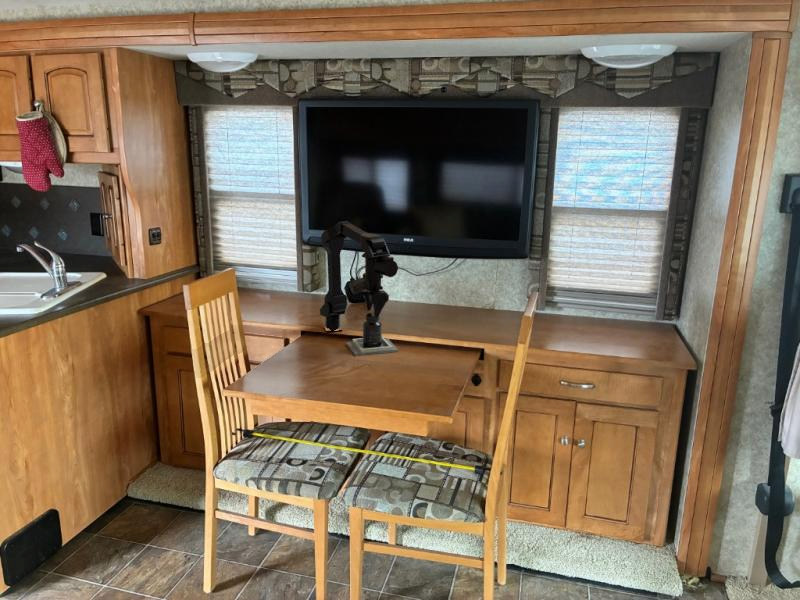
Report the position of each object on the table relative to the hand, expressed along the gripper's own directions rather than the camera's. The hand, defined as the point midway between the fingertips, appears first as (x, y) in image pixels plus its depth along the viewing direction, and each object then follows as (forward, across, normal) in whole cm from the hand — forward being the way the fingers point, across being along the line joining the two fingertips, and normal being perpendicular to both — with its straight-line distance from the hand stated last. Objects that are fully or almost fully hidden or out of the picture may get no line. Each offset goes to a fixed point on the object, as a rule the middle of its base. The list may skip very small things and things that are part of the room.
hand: (372, 314), depth 218 cm
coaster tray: (+13, 0, 0) cm, 13 cm away
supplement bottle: (+12, 0, 0) cm, 12 cm away
